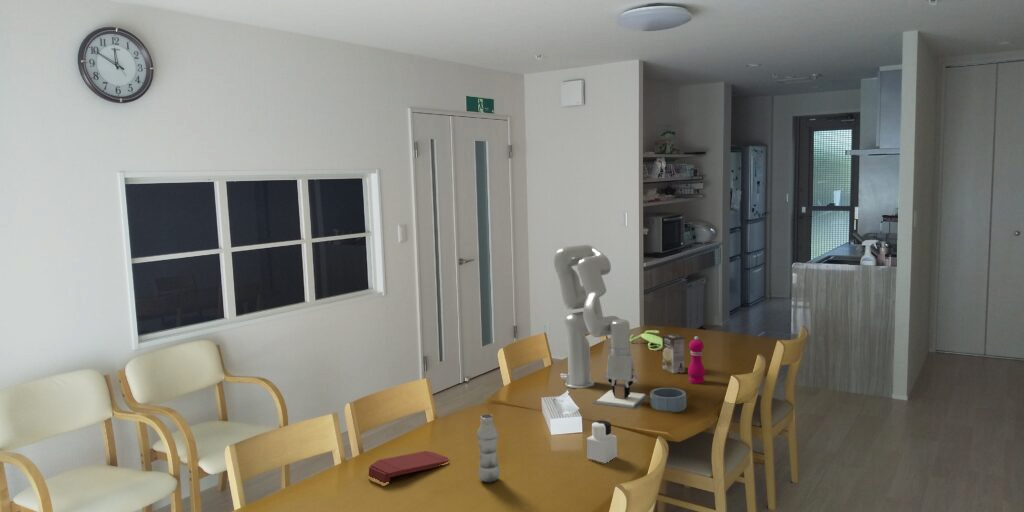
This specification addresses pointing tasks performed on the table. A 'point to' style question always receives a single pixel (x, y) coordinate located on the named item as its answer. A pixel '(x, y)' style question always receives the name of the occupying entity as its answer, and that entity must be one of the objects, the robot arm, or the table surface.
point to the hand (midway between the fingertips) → (621, 395)
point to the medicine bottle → (601, 442)
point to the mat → (623, 406)
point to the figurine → (650, 339)
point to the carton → (405, 465)
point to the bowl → (668, 399)
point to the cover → (621, 397)
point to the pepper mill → (696, 362)
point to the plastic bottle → (488, 449)
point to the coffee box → (673, 353)
